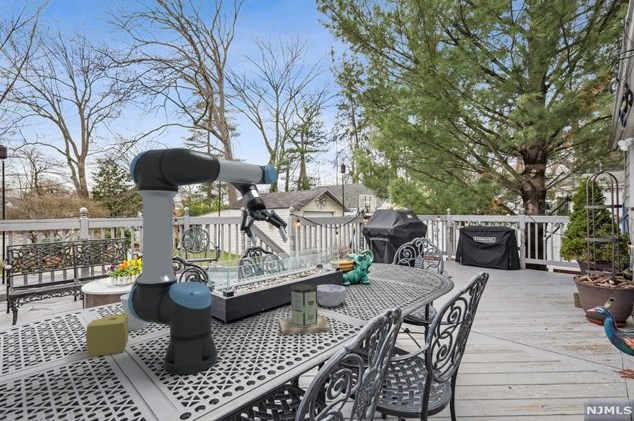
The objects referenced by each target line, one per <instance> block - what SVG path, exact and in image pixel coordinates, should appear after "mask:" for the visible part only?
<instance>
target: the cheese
mask: <svg viewBox="0 0 634 421" xmlns="http://www.w3.org/2000/svg"><path fill="white" fill-rule="evenodd" d="M85 333H86V335H85V340H86V342H85V343H86V352H87V357H88V358H91V357H92V358H93V357H98V356H106V355H112V354H113V355H114V354H117V353H118V354H119V353H124V351H125V350H126V346H127V343H128V342H129V329H128V314H124V313H119V314H109V315H105V316H104V317H102V318H99V319H98V318H97V319H93V320H92V321H91V322H89V323H88V324H87V326H86V332H85Z"/></svg>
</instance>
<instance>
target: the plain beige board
mask: <svg viewBox="0 0 634 421" xmlns="http://www.w3.org/2000/svg"><path fill="white" fill-rule="evenodd" d="M291 322H292V317H291V318H290V317H288V318H279V319H278V324H279V327H280V330H281V331H280V332H281V335H282V336H285V335H286V334H288V335H297V334H298V335H299V333H300V334H312V333H323V332H331V331H332V330H331V328H332V327H331V326H330V324H329V323H328V321H327V320H326V318H325V317H324V316H323V315H317V322H318V323H317V324H316V325H314V326H311V327H297V326H294V325H292V324H291ZM286 336H287V335H286Z"/></svg>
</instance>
